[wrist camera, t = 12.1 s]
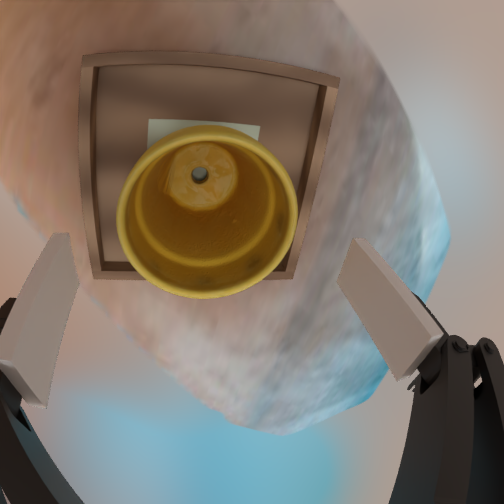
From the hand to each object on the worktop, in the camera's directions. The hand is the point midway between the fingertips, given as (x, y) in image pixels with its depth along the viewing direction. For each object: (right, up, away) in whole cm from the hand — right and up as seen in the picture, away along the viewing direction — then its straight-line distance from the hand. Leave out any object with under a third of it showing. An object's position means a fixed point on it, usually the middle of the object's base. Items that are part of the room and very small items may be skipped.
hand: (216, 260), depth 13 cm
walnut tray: (-3, +7, +12) cm, 14 cm away
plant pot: (-3, +7, +11) cm, 13 cm away
